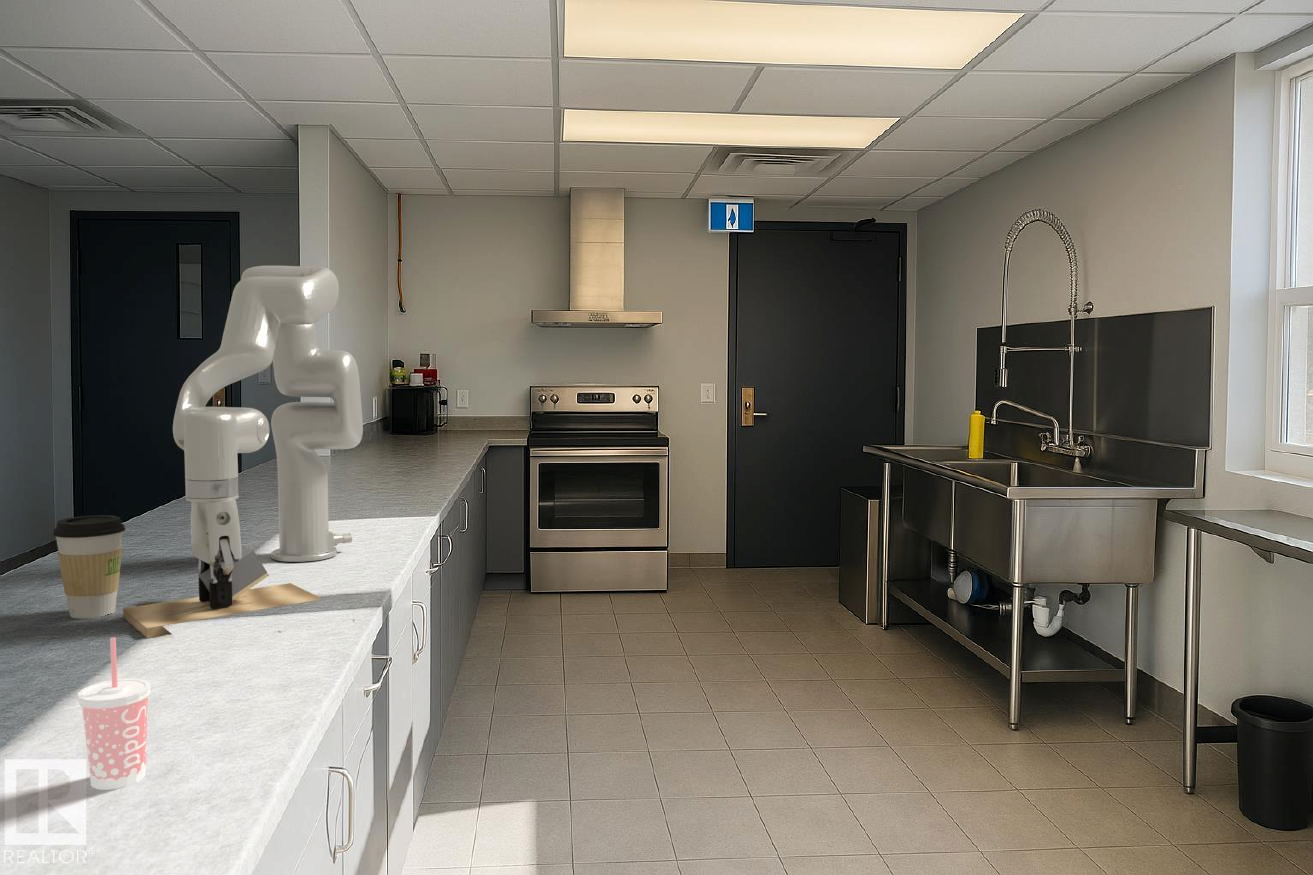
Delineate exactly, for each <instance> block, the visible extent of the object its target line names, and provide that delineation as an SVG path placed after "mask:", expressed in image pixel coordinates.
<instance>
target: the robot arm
mask: <svg viewBox="0 0 1313 875" xmlns="http://www.w3.org/2000/svg"><path fill="white" fill-rule="evenodd" d="M339 295H340V286H339V280H338V278H337V276H336V274H335V273H334V272H333V270H331V269H330V268H328V267H325V266H312V265H311V266H306V265H305V266H303V265H302V266H299V265H259V266H252V267H249V268H247V269H245V270H244V271H243V273H242V274H241V278H240V280H239V281H238V282H237V283H236V285H235V287H234V289H233V291H232V295H231V301H230V303H229V308H228V312H227V318H226V321H225V325H224V329H223V333H222V339H221V344H220V347H219V349H218V350H217V351H216V352H215V353H213V354H211V355H210V356H209V357H208V358H206V359H205V360H204V361H203V362H201V363H200V364H199V366H198V367H197V368H196V369H195V370H194V371H193V372H192V373H191V374H190V375H188V376H187V379H186V380H185V381H184V383H183V384H182V387H181V389H180V391H179V395H178V398H177V402H176V407H175V412H174V417H173V424H172V434H173V440H174V442H175V444H176V445H177V446H178V447H179V448H180V449H181V450H183V452H184V478H185V479H184V482H185V483H184V484H185V501H187V502H190V503H191V504H190V505H191V506H190V507H191V508H190V544H191V546H190V547H191V552H192V555H193V557H195V558H197V559H198V560H197V563H198V564H197V565H198V566H197V568H198V569H197V575H198V597H199V600H200V601H201V602H207V601H210V608H212V609H216V608H222V607H228V606H231V605H232V569H233V567H234V564H233V561H236V562H238V561H240V560H241V558H242V551H241V548H242V541H241V539H242V538H241V526H240V518H239V510H238V505H237V499H239V497H240V496H239V495H240V494H239V463H238V462H239V461H238V457H239V456H238V454H249V453H254V452H257V451H259V450H260V449H262V448H263V447H264V446H265V444H267V441H268V439H269V436H270V431H272V432H271V433H272V437H273V442H274V447H275V455H276V465H277V466H276V468H277V493H278V494H277V496H278V499H277V500H278V535H279V536H278V538H279V541H278V544H279V548H276V549H274V550H273V551H272V552H271V555H270V556H271V559H273V560H274V561H278V562H285V563H286V562H287V563H288V562H289V563H293V562H294V563H301V562H303V563H304V562H305V563H306V562H313V561H321V560H326V559H330V558H333V557H335V556H336V555H337V554H338V549H337V548H336V546H338V544H349V543H352V541H353V535H352V534H351V533H350V532H349V533H342V534H341V533H334V532H333V531H332V532H331V531H329V525H330V524H329V481H328V479H329V478H328V477H329V476H328V474H329V473H328V469H327V466H326V464H325V463H324V461H323V459H322V458H321V456H320V455H319V454H318V453H317V452H316V451H317V450H350V449H354V448H356V447H357V446H359V445H360V443H361V441H362V439H363V434H364V425H363V424H364V423H363V410H362V409H363V408H362V396H361V394H362V393H361V383H360V382H361V381H360V374H359V368H358V364H357V361H356V359H355V357H354V356H353V355H352V354H351V353H350V352H348V351H346V350H343V349H321V348H319V346H318V340H317V333H316V332H317V331H316V329H317V328H316V325H315V324H316V323H318V322H319V321H320V320H322V319H323V318H324V317H326V316H327V315H328V314H329V313H331V312H332V310H334V308H335V307H336V305H337V303H338V300H339V297H340V296H339ZM271 364H272V365H273V376H274V381H275V385H276V388H277V390H278V392H280V394H282V395H284V396H288V397H293V398H294V397H298V398H331V400H333V402H321V401H296V402H295V401H293V402H287V403H283V404H281V405H279V406H277V408H276V409H275V410H273V412H272V415H271V420H270V422H271V423H269V420H268V418H267V416H266V415H265V414H264V413H263V412H262V411H261V410H259V409H256V408H253V407H246V406H245V407H238V406H235V407H234V406H233V407H232V406H230V407H229V406H228V407H227V406H206V405H207V404H208V402H209V401H210V399H211V398H212V397H213V396H214V395H215V394H216V393H218V392H219V391H220V390H222V389H223V388H225V387H227V386H229V385H232V384H234V383H236V382H238V381H241V380H243V379H246V378H249V377H251V376H254V375H255V374H259V373H261V372H263V371H264V370H267V369H268V368H269V367H270V366H271ZM270 425H271V426H270ZM270 427H271V430H270ZM315 450H316V451H315ZM220 561H222V562H220ZM219 566H221V568H219V569H218V570H217V572H216V567H219ZM209 568H210V571H211V581H212V583H209V591H208V589H207V588H206V586H205V585H204V583H203V582H202V580H201V579H200V577H199V575H200V574H202V573H203V572H205V571H206V570H208V569H209Z"/></svg>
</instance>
